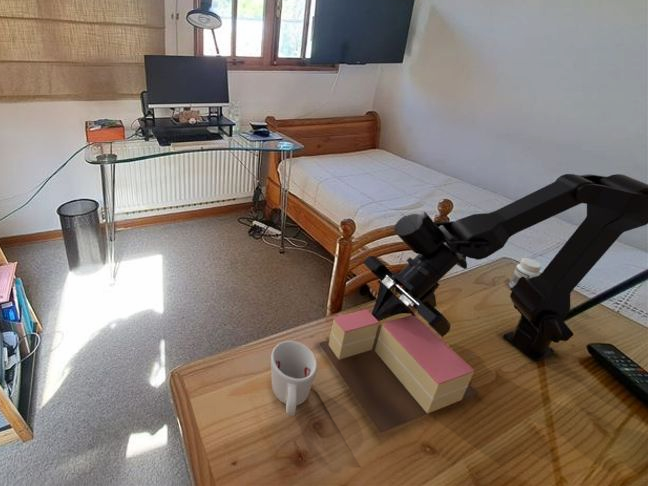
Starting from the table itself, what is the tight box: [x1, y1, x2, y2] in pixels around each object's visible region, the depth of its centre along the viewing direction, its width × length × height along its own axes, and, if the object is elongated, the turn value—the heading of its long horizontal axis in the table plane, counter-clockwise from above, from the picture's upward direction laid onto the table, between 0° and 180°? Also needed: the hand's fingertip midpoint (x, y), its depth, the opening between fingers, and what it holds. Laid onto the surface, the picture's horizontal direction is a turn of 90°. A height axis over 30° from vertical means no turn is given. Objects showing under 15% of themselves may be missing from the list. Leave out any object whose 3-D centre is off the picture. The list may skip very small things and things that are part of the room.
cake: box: [375, 314, 475, 415], centre depth 63 cm, size 8×13×8 cm, turn 18°
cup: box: [270, 340, 318, 417], centre depth 59 cm, size 11×8×8 cm
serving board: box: [318, 324, 478, 434], centre depth 66 cm, size 22×18×1 cm
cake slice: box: [328, 308, 380, 359], centre depth 68 cm, size 8×4×8 cm, turn 108°
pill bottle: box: [509, 257, 542, 289], centre depth 88 cm, size 5×5×8 cm
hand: (372, 320), depth 69 cm, fingers closed
